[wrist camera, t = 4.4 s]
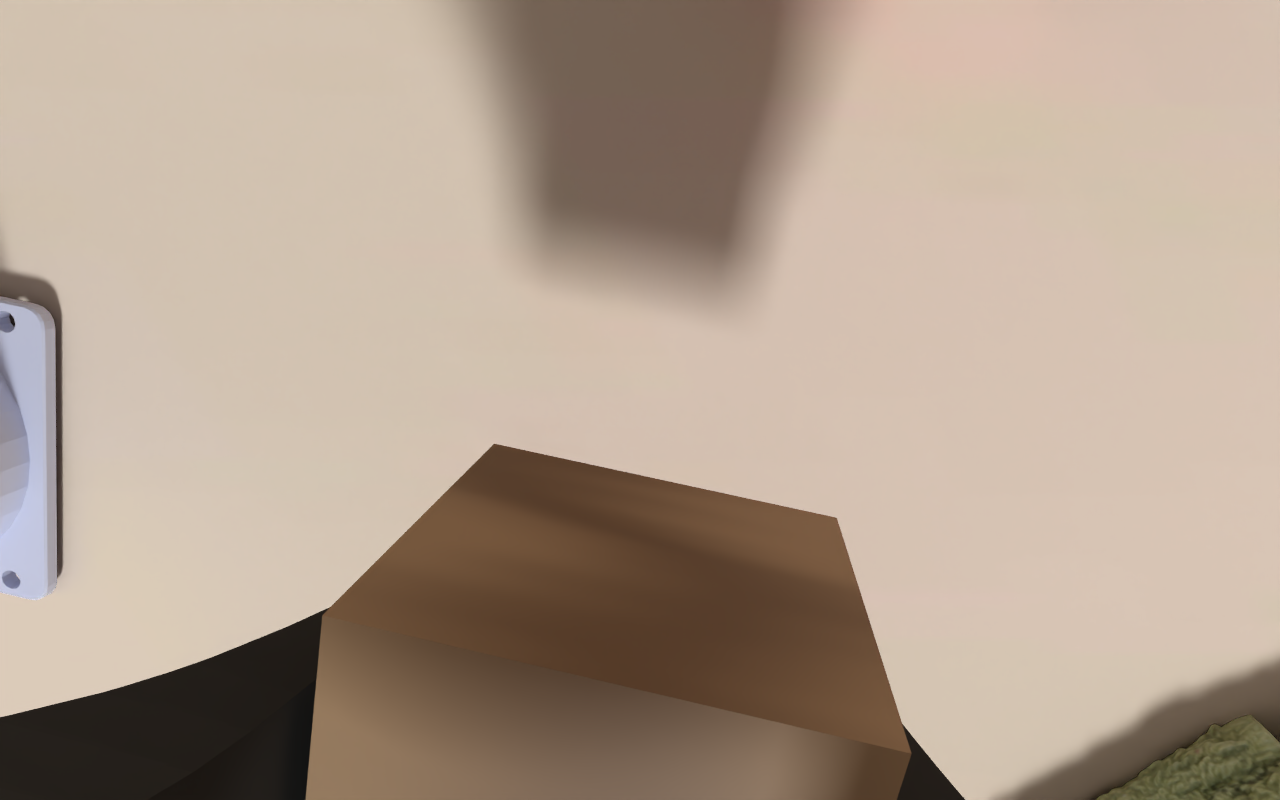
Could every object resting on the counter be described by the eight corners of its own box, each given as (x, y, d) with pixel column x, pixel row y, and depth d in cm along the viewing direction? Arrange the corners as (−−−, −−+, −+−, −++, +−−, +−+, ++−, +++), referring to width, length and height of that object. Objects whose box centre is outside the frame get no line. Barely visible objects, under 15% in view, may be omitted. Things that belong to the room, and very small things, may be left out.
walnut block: (452, 734, 13) (282, 1051, 8) (494, 444, 12) (321, 615, 7) (758, 808, 13) (772, 1187, 8) (836, 517, 11) (910, 753, 6)
